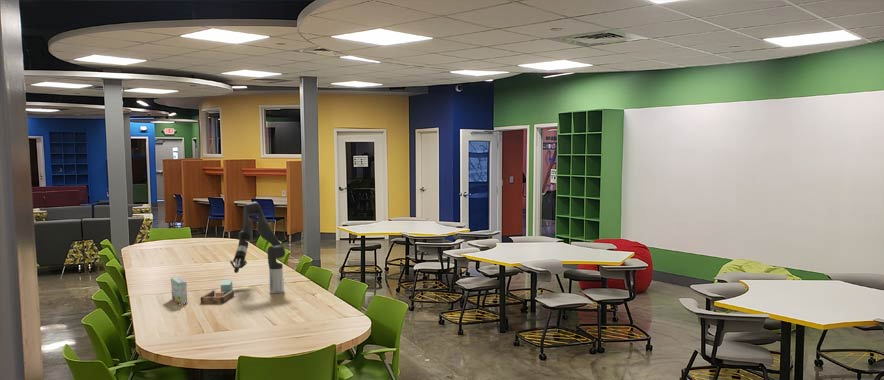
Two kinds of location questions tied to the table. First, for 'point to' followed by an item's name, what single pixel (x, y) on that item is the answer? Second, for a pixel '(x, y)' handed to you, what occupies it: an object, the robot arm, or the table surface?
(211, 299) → the brown u-shaped block
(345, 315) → the table surface
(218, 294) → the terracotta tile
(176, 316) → the table surface
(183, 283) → the snack box
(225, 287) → the block
